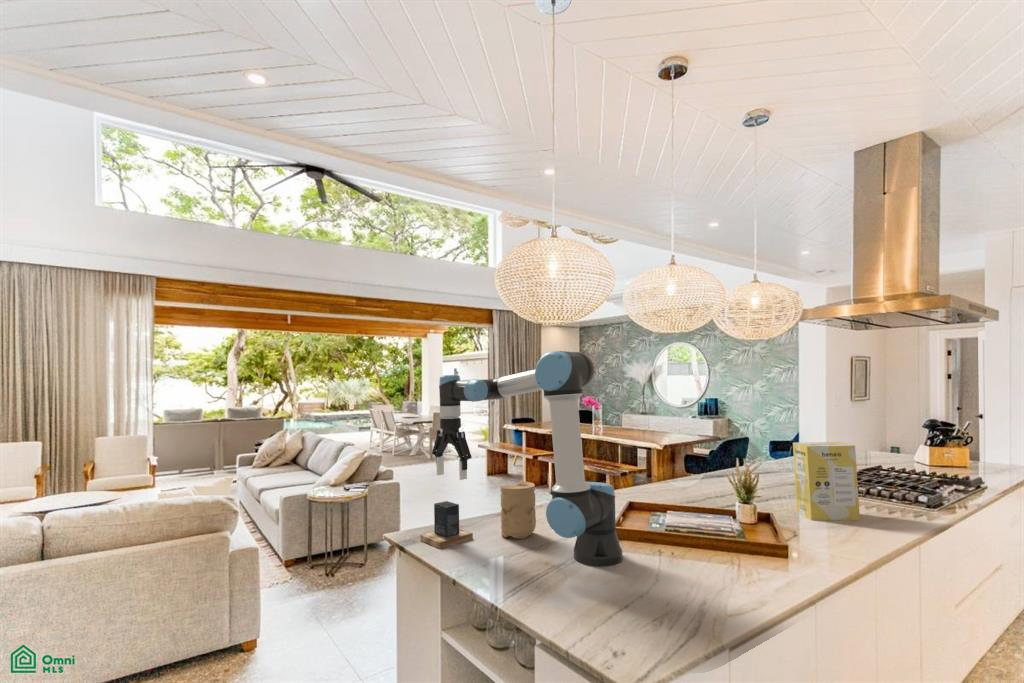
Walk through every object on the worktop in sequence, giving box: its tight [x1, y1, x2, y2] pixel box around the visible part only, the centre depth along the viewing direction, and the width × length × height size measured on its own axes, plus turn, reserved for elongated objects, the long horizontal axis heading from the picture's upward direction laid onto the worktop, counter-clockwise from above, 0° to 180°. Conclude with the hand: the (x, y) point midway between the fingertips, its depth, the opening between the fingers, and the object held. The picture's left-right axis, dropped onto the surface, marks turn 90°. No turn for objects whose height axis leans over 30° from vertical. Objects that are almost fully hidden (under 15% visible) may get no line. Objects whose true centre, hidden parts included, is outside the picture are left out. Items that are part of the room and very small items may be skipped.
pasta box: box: [792, 441, 861, 521], centre depth 199 cm, size 18×10×28 cm, turn 88°
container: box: [500, 481, 537, 540], centre depth 182 cm, size 13×13×18 cm
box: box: [433, 500, 460, 538], centre depth 179 cm, size 8×6×11 cm
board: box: [420, 528, 474, 550], centre depth 178 cm, size 12×14×2 cm
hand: (451, 477), depth 181 cm, fingers open, 13 cm apart
